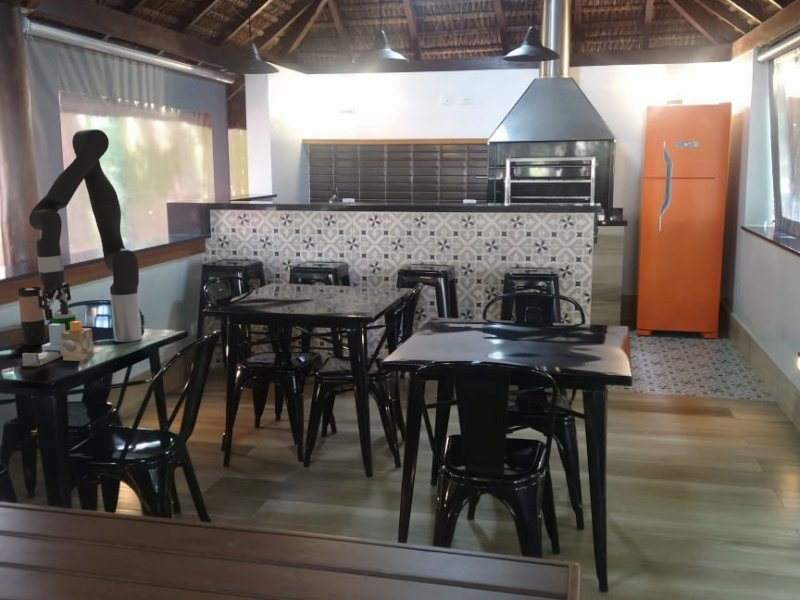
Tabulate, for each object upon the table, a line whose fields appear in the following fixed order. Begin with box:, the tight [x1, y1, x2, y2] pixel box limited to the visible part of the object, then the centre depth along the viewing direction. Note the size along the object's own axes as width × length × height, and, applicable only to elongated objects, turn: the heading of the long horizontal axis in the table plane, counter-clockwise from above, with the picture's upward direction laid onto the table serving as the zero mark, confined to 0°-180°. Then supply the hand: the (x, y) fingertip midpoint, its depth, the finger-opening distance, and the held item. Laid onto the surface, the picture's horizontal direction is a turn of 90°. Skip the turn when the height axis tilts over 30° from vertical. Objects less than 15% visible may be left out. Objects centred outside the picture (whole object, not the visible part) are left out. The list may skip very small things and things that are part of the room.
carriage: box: [41, 323, 66, 355], centre depth 254 cm, size 7×8×10 cm
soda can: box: [51, 309, 77, 331], centre depth 268 cm, size 8×8×12 cm
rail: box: [21, 350, 63, 368], centre depth 251 cm, size 23×5×4 cm, turn 170°
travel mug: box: [17, 286, 47, 346], centre depth 270 cm, size 8×8×20 cm
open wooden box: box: [61, 327, 95, 362], centre depth 250 cm, size 8×6×9 cm
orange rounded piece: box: [70, 320, 83, 333], centre depth 249 cm, size 4×4×5 cm
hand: (57, 317), depth 253 cm, fingers open, 8 cm apart
